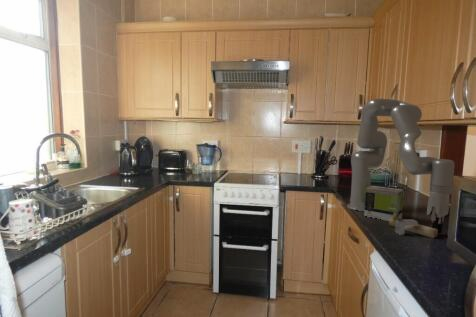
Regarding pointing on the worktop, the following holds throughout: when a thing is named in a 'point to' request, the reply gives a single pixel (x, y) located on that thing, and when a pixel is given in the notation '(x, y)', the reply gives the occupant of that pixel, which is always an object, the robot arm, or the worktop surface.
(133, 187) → the worktop surface
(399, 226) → the hook
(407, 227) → the pivot link
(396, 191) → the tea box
